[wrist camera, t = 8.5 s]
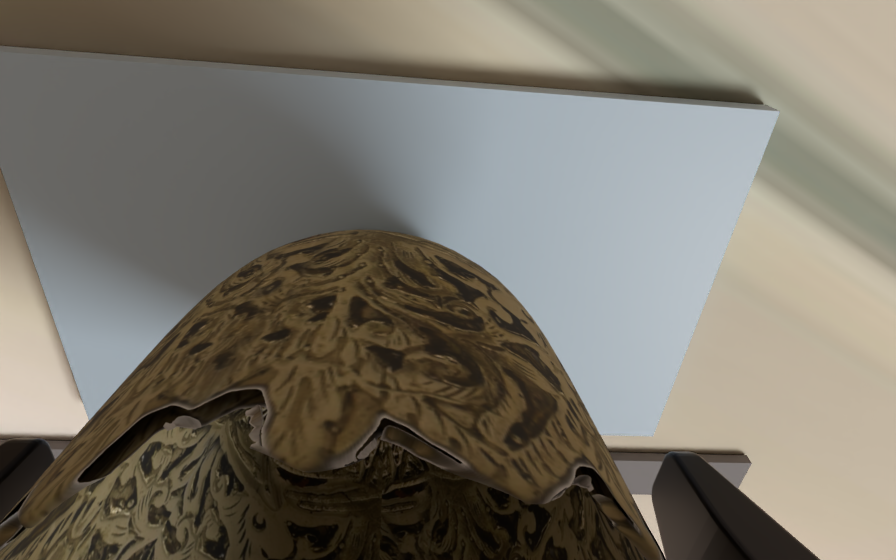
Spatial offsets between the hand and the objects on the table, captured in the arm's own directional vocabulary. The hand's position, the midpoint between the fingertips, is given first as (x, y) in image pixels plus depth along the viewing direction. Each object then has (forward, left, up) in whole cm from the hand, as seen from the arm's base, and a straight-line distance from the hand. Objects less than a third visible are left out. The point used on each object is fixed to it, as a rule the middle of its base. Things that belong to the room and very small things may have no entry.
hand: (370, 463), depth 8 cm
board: (0, 0, -6) cm, 6 cm away
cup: (0, 0, -5) cm, 5 cm away
